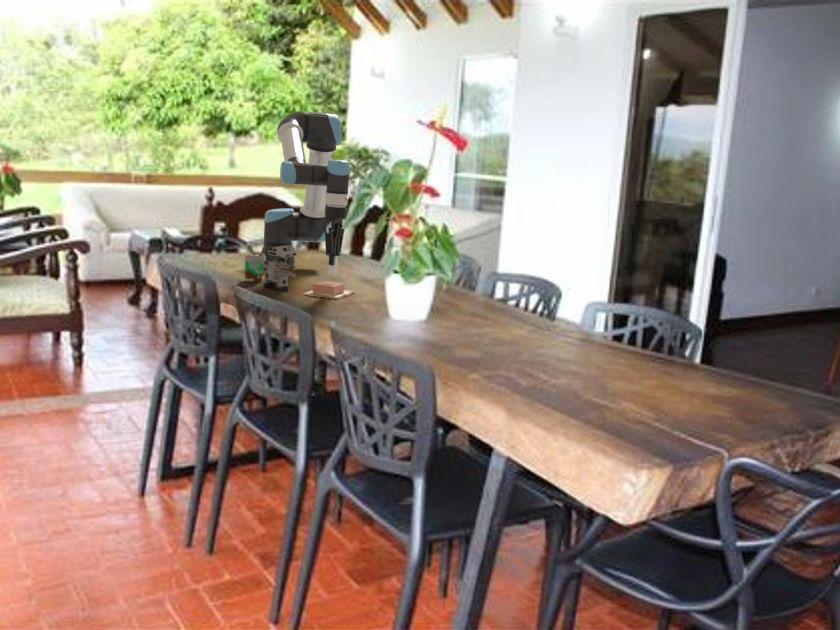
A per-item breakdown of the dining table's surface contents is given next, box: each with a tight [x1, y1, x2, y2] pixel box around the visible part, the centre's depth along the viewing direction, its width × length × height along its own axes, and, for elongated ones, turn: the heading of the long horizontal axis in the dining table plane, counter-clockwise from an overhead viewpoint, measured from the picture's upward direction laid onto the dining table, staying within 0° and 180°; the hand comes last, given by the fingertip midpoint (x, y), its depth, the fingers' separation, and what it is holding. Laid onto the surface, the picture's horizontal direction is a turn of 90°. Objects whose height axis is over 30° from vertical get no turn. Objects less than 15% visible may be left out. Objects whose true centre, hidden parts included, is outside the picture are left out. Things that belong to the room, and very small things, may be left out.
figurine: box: [263, 245, 298, 292], centre depth 293 cm, size 9×12×15 cm
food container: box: [244, 251, 266, 284], centre depth 303 cm, size 12×6×10 cm, turn 179°
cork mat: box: [303, 289, 356, 300], centre depth 291 cm, size 16×12×1 cm
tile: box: [311, 280, 346, 296], centre depth 289 cm, size 3×8×9 cm
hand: (332, 274), depth 290 cm, fingers closed
